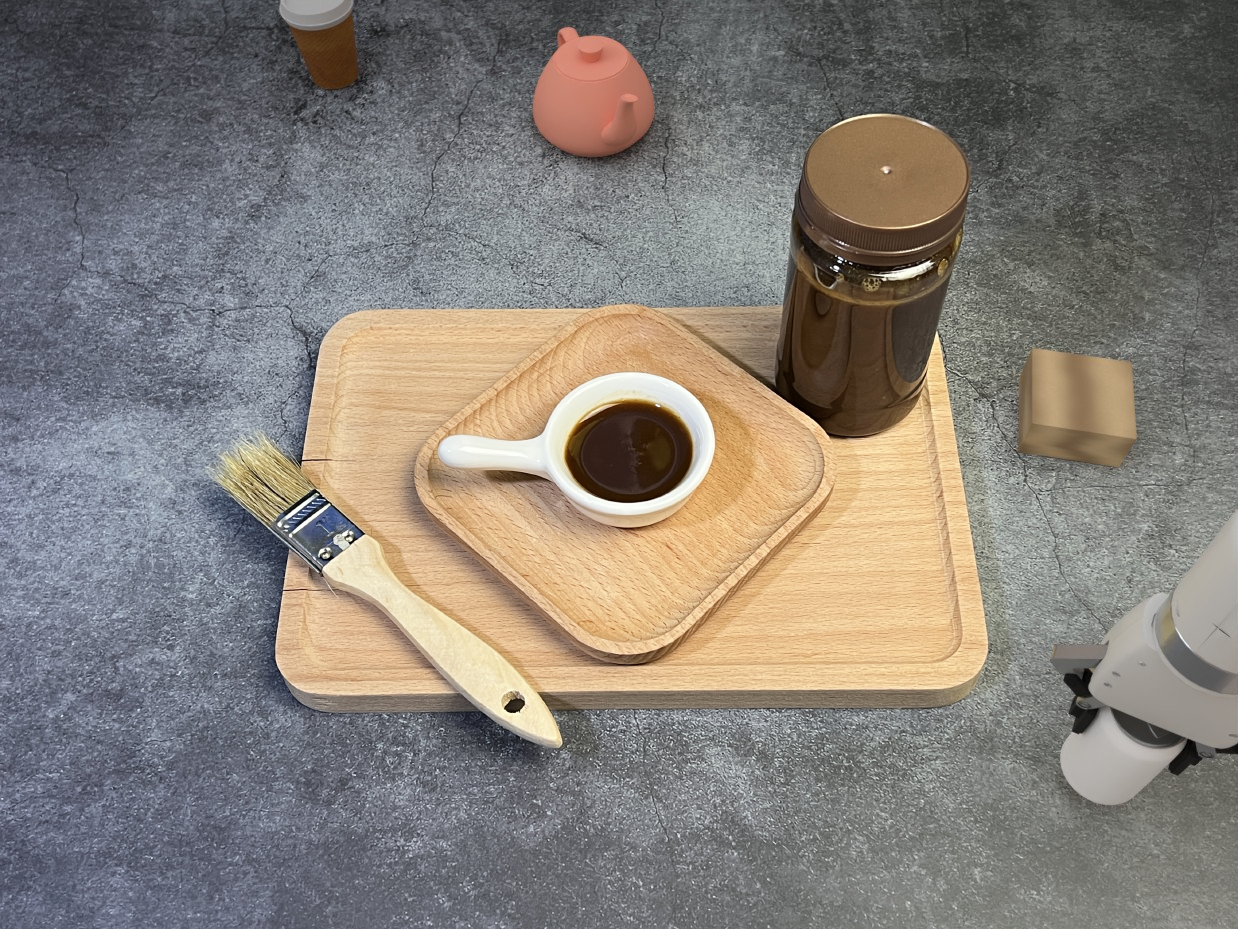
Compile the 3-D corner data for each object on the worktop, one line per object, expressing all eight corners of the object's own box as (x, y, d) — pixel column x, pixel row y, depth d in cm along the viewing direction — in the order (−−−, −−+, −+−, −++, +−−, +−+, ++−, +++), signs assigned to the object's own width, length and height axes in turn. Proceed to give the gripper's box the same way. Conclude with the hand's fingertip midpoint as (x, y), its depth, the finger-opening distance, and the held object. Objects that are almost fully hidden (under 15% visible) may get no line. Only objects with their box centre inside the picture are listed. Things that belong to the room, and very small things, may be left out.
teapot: (690, 164, 139) (693, 80, 129) (577, 202, 136) (571, 118, 125) (616, 68, 151) (613, -17, 140) (510, 101, 147) (500, 16, 137)
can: (1107, 717, 92) (1158, 657, 82) (1157, 788, 89) (1217, 733, 79) (1042, 747, 91) (1085, 690, 81) (1090, 820, 88) (1142, 768, 78)
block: (1115, 392, 117) (1132, 361, 113) (1119, 467, 112) (1137, 439, 108) (1018, 377, 119) (1032, 347, 114) (1018, 452, 113) (1032, 423, 109)
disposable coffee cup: (287, 87, 150) (262, 7, 140) (324, 48, 155) (302, -33, 145) (347, 104, 147) (326, 23, 138) (383, 63, 152) (365, -18, 142)
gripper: (1379, 639, 69) (1255, 742, 84) (1097, 536, 74) (1027, 650, 89) (1364, 743, 65) (1238, 832, 80) (1069, 627, 70) (1001, 731, 85)
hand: (1128, 736), depth 84 cm, fingers closed on can, 6 cm apart
